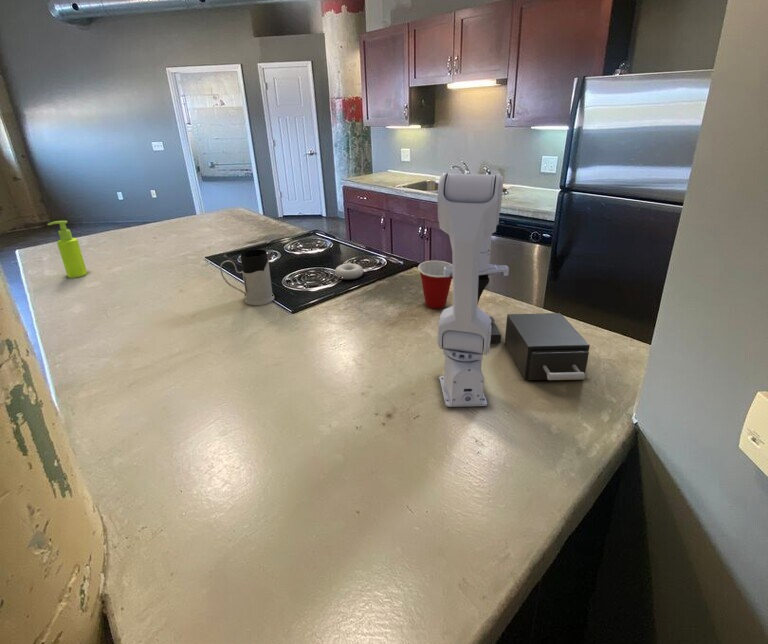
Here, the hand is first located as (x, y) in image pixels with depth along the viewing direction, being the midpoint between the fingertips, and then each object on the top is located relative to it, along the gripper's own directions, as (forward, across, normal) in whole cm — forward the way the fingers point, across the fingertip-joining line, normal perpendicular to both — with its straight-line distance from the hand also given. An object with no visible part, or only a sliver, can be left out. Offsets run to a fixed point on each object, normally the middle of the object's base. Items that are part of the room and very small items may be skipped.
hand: (473, 303), depth 98 cm
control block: (+10, -3, -4) cm, 12 cm away
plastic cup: (+10, +6, -21) cm, 24 cm away
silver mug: (+10, +62, -27) cm, 69 cm away
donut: (+10, +33, -46) cm, 58 cm away
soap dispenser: (+10, +133, -53) cm, 144 cm away
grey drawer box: (+10, -14, +9) cm, 19 cm away
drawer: (+9, -14, +12) cm, 21 cm away
